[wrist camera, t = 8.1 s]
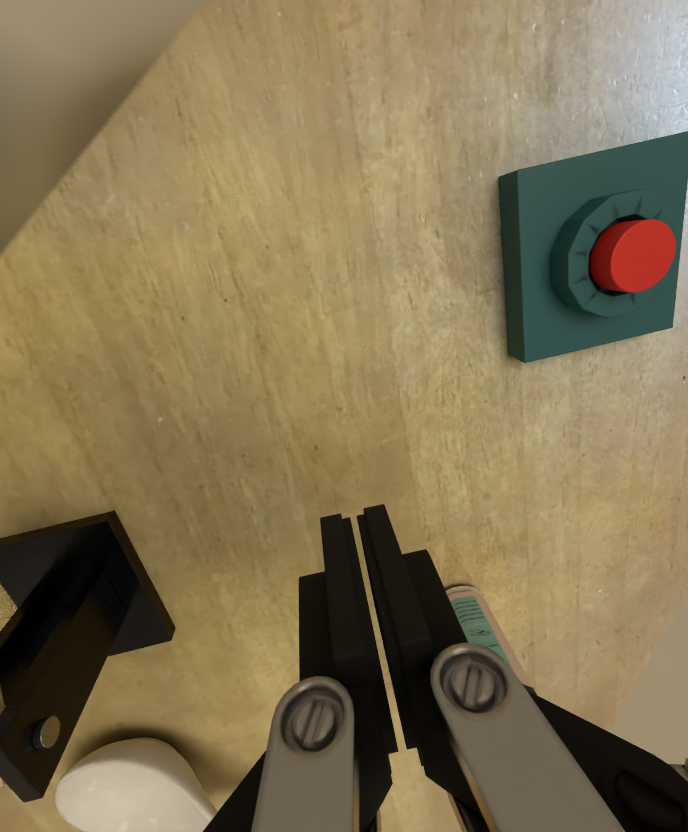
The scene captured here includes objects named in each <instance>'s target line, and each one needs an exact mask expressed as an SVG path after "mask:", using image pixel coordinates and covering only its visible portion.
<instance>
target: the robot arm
mask: <svg viewBox="0 0 688 832" xmlns="http://www.w3.org/2000/svg"><path fill="white" fill-rule="evenodd" d="M357 520H358V525H359V530H360V535H361V540H362V545H363V550H364V555H365V560H366V565H367V570H368V575H369V580H370V585H371V590H372V595H373V600H374V605H375V609H376V614H377V618H378V623H379V627H380V632H381V636H382V641H383V645H384V650H385V654H386V659H387V663H388V668H389V672H390V676H391V681H392V685H393V690H394V694H395V699H396V703H397V708H398V712H399V717H400V721H401V726H402V730H403V735H404V739H405V744H406V748H407V749H411V748H416V747H417V750H418V754H419V758H420V762H421V766H424V770H425V775H426V776H427V777H428V778H430V779H431V780H432V781H434V782H435V783H436V784H438V785H439V786H440V787H442V788H443V789H444V790H446V791H447V794H448V797H449V801H450V803H451V806H452V808H453V810H454V813H455V815H456V818H457V820H458V823H459V825H460V827H461V830H462V832H688V759H687V758H686V761H685V765H677V764H667V763H666V762H664V761H662V760H661V759H659V758H658V757H656V756H655V755H653V754H651V753H649V752H647V751H645V750H643V749H641V748H639V747H637V746H635V745H633V744H631V743H629V742H627V741H625V740H623V739H621V738H619V737H617V736H616V735H614V734H612V733H610V732H608V731H606V730H604V729H602V728H600V727H598V726H596V725H594V724H592V723H590V722H588V721H586V720H584V719H582V718H580V717H578V716H576V715H574V714H572V713H570V712H568V711H566V710H564V709H562V708H560V707H558V706H557V705H555V704H553V703H551V702H549V701H547V700H545V699H543V698H541V697H539V696H537V695H535V694H533V693H531V692H529V691H527V690H526V689H525V687H524V686H523V685H522V683H521V682H520V680H519V679H518V677H517V676H516V675H515V673H514V672H513V670H512V669H511V667H510V666H509V665H508V664H507V662H506V661H505V660H504V659H503V658H502V657H501V656H500V655H499V654H497V653H496V652H494V651H493V650H491V649H490V648H488V647H485V646H482V645H479V644H476V643H468V641H467V638H466V636H465V634H464V632H463V629H462V627H461V625H460V623H459V620H458V618H457V616H456V614H455V611H454V609H453V607H452V604H451V602H450V600H449V598H448V595H447V593H446V591H445V589H444V586H443V584H442V582H441V580H440V577H439V575H438V573H437V571H436V568H435V566H434V564H433V562H432V559H431V557H430V555H429V553H428V551H427V550H426V549H425V550H420V551H416V552H411V553H407V554H402V553H401V550H400V548H399V545H398V542H397V539H396V536H395V533H394V531H393V528H392V525H391V522H390V519H389V516H388V514H387V511H386V508H385V505H384V504H382V505H377V506H373V507H368V508H364V514H363V515H358V516H357ZM320 523H321V533H322V544H323V555H324V566H325V572H320V573H316V574H311V575H307V576H302V577H300V578H299V663H300V682H299V683H297V684H295V685H293V686H292V687H291V688H290V689H289V690H288V691H287V692H286V693H285V694H284V695H283V697H282V698H281V700H280V701H279V703H278V705H277V706H276V709H275V712H274V715H273V718H272V723H271V728H270V734H269V739H268V744H267V750H266V751H265V752H264V754H263V755H262V756H261V757H260V759H259V760H258V761H257V763H256V764H255V765H254V766H253V768H252V769H251V770H250V772H249V773H248V774H247V775H246V777H245V778H244V779H243V780H242V782H241V783H240V784H239V786H238V787H237V788H236V789H235V791H234V792H233V793H232V795H231V796H230V797H229V798H228V800H227V801H226V802H225V803H224V805H223V806H222V807H221V809H220V810H219V811H218V812H217V814H216V815H215V816H214V817H213V819H212V820H211V821H210V823H209V824H208V825H207V826H206V828H205V829H204V830H203V832H381V815H380V809H379V808H380V806H381V804H382V802H383V801H384V799H385V797H386V795H387V793H388V791H389V789H390V787H391V786H392V784H393V783H392V778H391V773H392V772H391V766H390V761H389V755H388V754H390V753H394V752H398V747H397V742H396V737H395V733H394V728H393V723H392V718H391V713H390V708H389V703H388V699H387V694H386V689H385V684H384V679H383V674H382V669H381V665H380V660H379V655H378V650H377V645H376V640H375V635H374V631H373V626H372V621H371V616H370V611H369V606H368V601H367V597H366V592H365V587H364V582H363V577H362V573H361V568H360V563H359V558H358V553H357V548H356V544H355V539H354V534H353V529H352V524H351V520H350V517H349V518H344V519H342V516H341V513H340V514H335V515H331V516H326V517H322V518H320Z"/></svg>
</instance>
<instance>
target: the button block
mask: <svg viewBox="0 0 688 832" xmlns="http://www.w3.org/2000/svg"><path fill="white" fill-rule="evenodd" d="M687 181H688V131H687V132H683V133H678V134H674V135H670V136H665V137H661V138H656V139H652V140H648V141H643V142H639V143H634V144H630V145H626V146H621V147H617V148H612V149H608V150H604V151H599V152H595V153H591V154H586V155H582V156H577V157H573V158H569V159H564V160H560V161H555V162H551V163H547V164H542V165H538V166H533V167H529V168H525V169H520V170H516V171H514V172H511V173H508V174H505V175H502V176H500V177H499V186H500V205H501V223H502V241H503V259H504V277H505V295H506V314H507V332H508V350H509V355H510V356H512V357H514V358H516V359H518V360H520V361H522V362H524V363H527V362H531V361H535V360H540V359H544V358H548V357H552V356H556V355H560V354H565V353H569V352H573V351H577V350H581V349H585V348H590V347H594V346H598V345H602V344H606V343H610V342H615V341H619V340H623V339H627V338H631V337H636V336H640V335H644V334H648V333H652V332H656V331H661V330H665V329H669V328H672V327H673V318H674V308H675V298H676V289H677V279H678V269H679V259H680V249H681V240H682V230H683V220H684V210H685V200H686V191H687ZM647 219H654V220H659V221H662V222H663V223H665V224H666V225H668V226H669V228H670V229H671V230H672V232H673V234H674V237H675V244H676V248H675V255H674V259H673V261H672V264H671V266H670V268H669V270H668V271H667V273H666V274H665V275H664V277H663V278H662V279H661V280H660V281H659V282H658V283H657V284H655V285H654V286H652V287H651V288H649V289H647V290H644V291H641V292H636V293H630V292H622V291H615V290H607V289H604V288H602V287H600V286H599V285H598V284H597V283H596V282H595V281H594V279H593V278H592V275H591V272H590V256H591V253H592V250H593V247H594V245H595V243H596V242H597V240H598V239H599V237H600V236H601V235H602V234H603V233H604V232H605V231H606V230H607V229H609V228H610V227H612V226H613V225H615V224H618V223H621V222H625V221H636V220H647Z"/></svg>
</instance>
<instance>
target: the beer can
mask: <svg viewBox="0 0 688 832" xmlns="http://www.w3.org/2000/svg"><path fill="white" fill-rule="evenodd" d="M446 593H447V595H448V598H449V600H450V602H451V604H452V607H453V609H454V611H455V614H456V616H457V618H458V620H459V623H460V625H461V627H462V629H463V632H464V634H465V636H466V638H467V641H468V643H476V644H479V645H482V646H485V647H488V648H490V649H491V650H493V651H494V652H496V653H497V654H499V655H500V656H501V657H502V658H503V659H504V660H505V661H506V662H507V664H508V665H509V666H510V667H511V669H512V670H513V672H514V673H515V675H516V676H517V677H518V679H519V680H520V682H521V683H522V685H523V686H524V687H525V689H526V690H527V691H529V692H531V693H533V694H535V695H537V694H536V692H535V691H534V689H533V687H532V685H531V683H530V681H529V680H528V678H527V676H526V674H525V672H524V670H523V669H522V667H521V665H520V663H519V661H518V659H517V658H516V656H515V654H514V652H513V650H512V648H511V647H510V645H509V643H508V641H507V639H506V638H505V636H504V634H503V632H502V630H501V628H500V627H499V625H498V623H497V621H496V619H495V617H494V616H493V614H492V612H491V610H490V608H489V606H488V605H487V603H486V601H485V599H484V597H483V594H482V593H481V592H480V591H479V590H477V589H476V588H473V587H470V586H458V587H453V588H450V589H448V590H446Z"/></svg>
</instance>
